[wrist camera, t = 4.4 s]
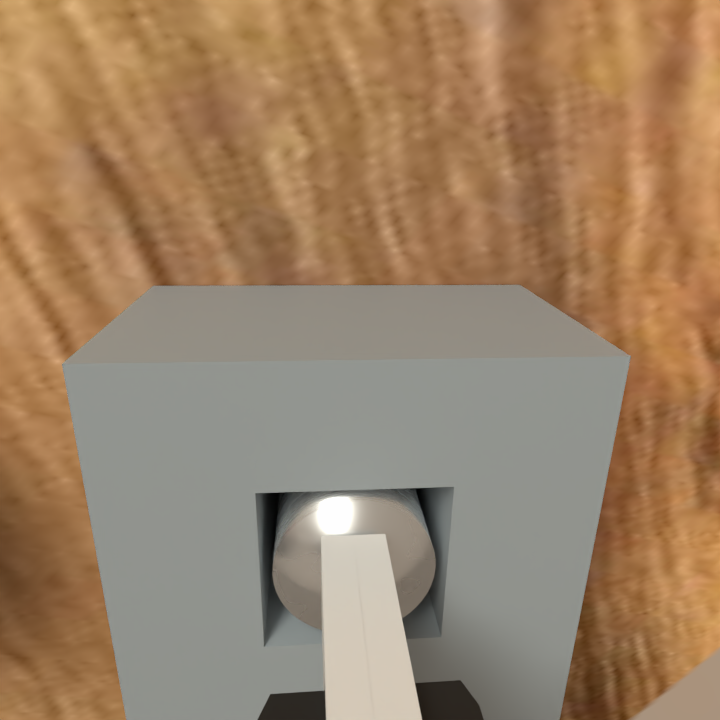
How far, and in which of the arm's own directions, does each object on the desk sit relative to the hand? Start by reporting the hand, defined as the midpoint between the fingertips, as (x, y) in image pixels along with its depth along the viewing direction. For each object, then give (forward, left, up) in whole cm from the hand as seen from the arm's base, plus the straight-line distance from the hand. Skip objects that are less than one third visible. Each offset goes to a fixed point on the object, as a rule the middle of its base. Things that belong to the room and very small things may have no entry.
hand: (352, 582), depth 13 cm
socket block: (0, -6, -7) cm, 9 cm away
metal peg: (0, 0, -7) cm, 7 cm away
